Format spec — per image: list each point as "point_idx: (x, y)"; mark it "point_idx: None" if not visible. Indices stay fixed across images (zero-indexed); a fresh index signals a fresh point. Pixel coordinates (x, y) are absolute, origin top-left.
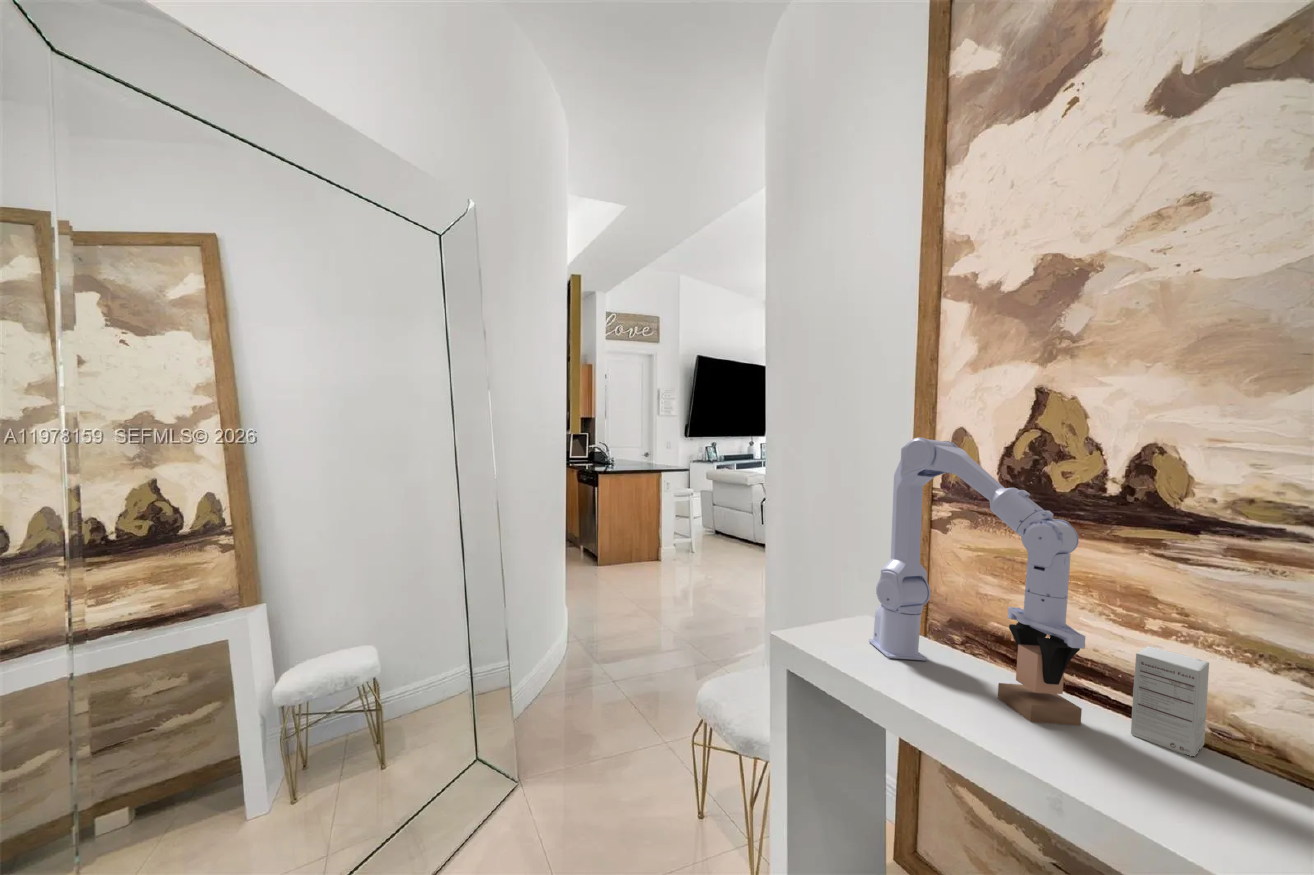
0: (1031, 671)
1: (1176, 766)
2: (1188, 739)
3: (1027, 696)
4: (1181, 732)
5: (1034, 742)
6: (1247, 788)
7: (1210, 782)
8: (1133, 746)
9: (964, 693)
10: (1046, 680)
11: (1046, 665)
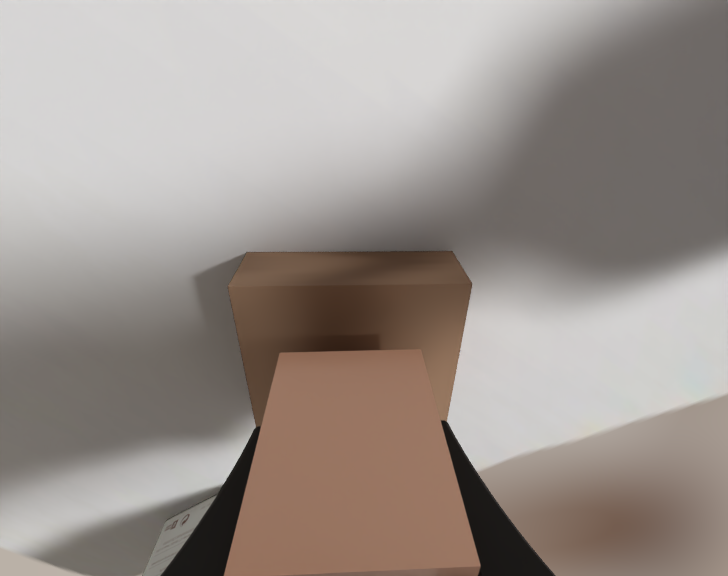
0: (306, 426)
1: (92, 470)
2: (153, 559)
3: (325, 324)
4: (157, 568)
5: (25, 137)
6: (51, 524)
7: (36, 484)
8: (174, 448)
9: (505, 107)
10: (249, 439)
11: (204, 525)
